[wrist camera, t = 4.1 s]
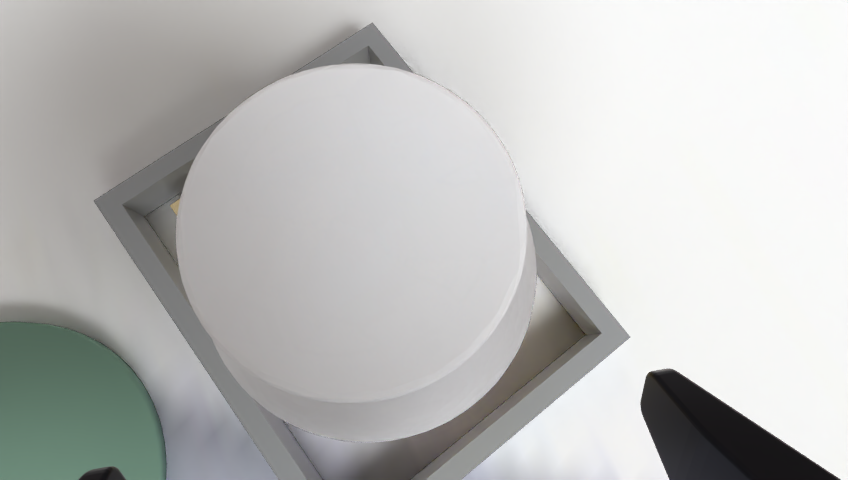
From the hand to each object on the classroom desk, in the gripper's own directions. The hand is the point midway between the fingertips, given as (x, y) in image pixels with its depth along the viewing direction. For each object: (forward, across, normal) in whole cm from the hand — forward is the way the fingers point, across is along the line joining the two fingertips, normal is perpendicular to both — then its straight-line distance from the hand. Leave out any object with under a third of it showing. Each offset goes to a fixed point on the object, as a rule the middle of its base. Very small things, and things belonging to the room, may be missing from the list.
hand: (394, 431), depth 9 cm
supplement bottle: (+9, 0, +5) cm, 11 cm away
